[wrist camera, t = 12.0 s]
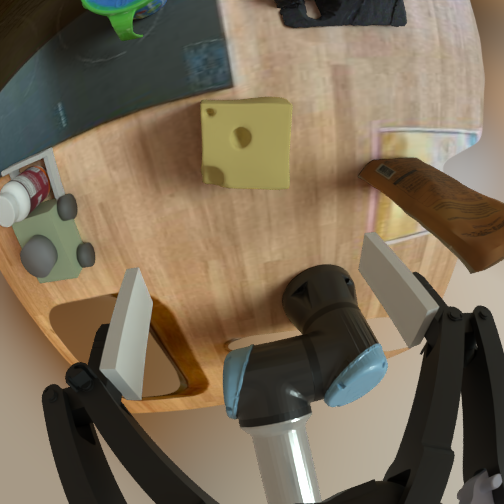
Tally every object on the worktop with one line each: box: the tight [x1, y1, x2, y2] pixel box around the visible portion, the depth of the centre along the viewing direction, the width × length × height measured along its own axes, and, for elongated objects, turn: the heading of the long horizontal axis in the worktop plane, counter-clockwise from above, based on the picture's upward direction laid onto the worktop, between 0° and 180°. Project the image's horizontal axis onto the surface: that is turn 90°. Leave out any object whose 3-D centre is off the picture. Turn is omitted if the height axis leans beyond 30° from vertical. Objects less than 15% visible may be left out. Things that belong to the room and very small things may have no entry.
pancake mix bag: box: [358, 158, 504, 274], centre depth 30 cm, size 7×19×28 cm, turn 97°
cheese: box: [200, 97, 292, 190], centre depth 32 cm, size 10×11×10 cm
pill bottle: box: [0, 166, 51, 227], centre depth 29 cm, size 6×6×11 cm
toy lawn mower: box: [1, 147, 95, 283], centre depth 33 cm, size 21×12×9 cm, turn 5°
